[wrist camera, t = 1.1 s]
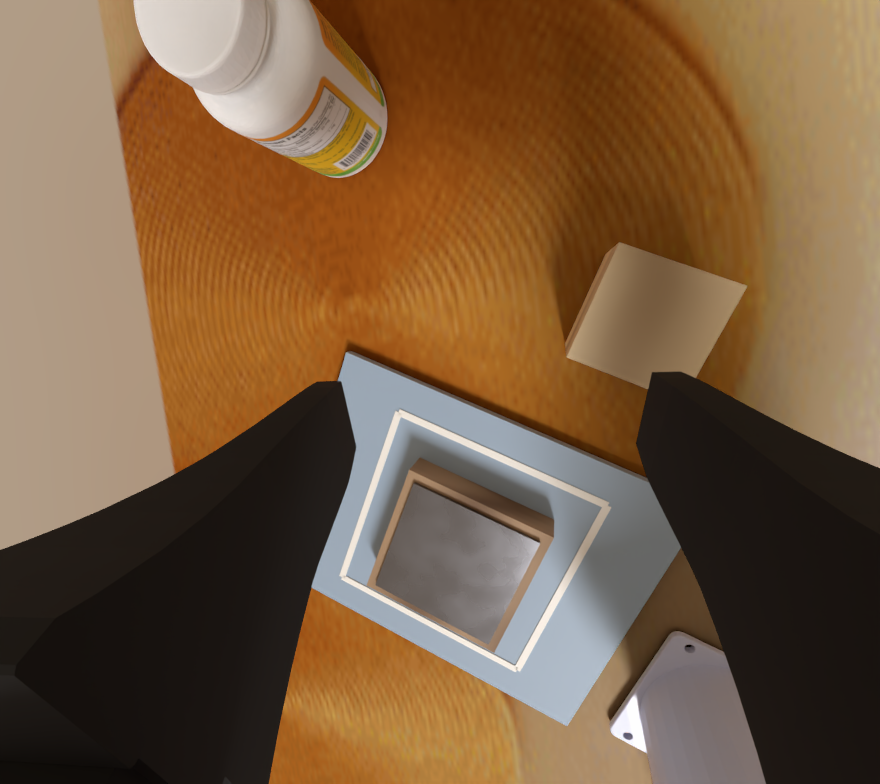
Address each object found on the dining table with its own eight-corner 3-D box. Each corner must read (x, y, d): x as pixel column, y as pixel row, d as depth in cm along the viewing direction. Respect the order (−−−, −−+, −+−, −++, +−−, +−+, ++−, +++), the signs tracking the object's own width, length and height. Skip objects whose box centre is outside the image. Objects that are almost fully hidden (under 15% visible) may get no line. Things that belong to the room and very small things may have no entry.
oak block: (701, 287, 19) (747, 285, 15) (653, 378, 21) (681, 402, 16) (605, 254, 20) (619, 242, 15) (564, 343, 21) (566, 357, 17)
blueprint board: (702, 501, 21) (721, 529, 19) (566, 716, 26) (567, 761, 23) (351, 350, 24) (328, 357, 22) (288, 566, 29) (263, 591, 27)
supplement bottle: (297, 60, 22) (106, -109, 13) (395, 63, 20) (264, -123, 11) (292, 176, 23) (117, 98, 14) (384, 184, 22) (259, 105, 13)
